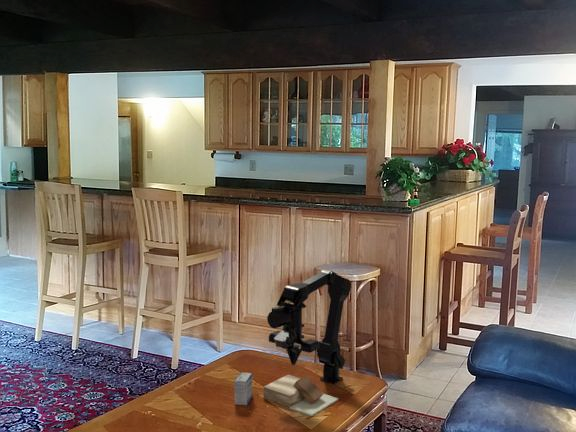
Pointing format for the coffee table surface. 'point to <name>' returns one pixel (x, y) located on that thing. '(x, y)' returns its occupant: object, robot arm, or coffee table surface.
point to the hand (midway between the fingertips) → (293, 364)
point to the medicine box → (243, 388)
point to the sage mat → (314, 405)
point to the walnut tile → (308, 389)
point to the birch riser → (283, 391)
